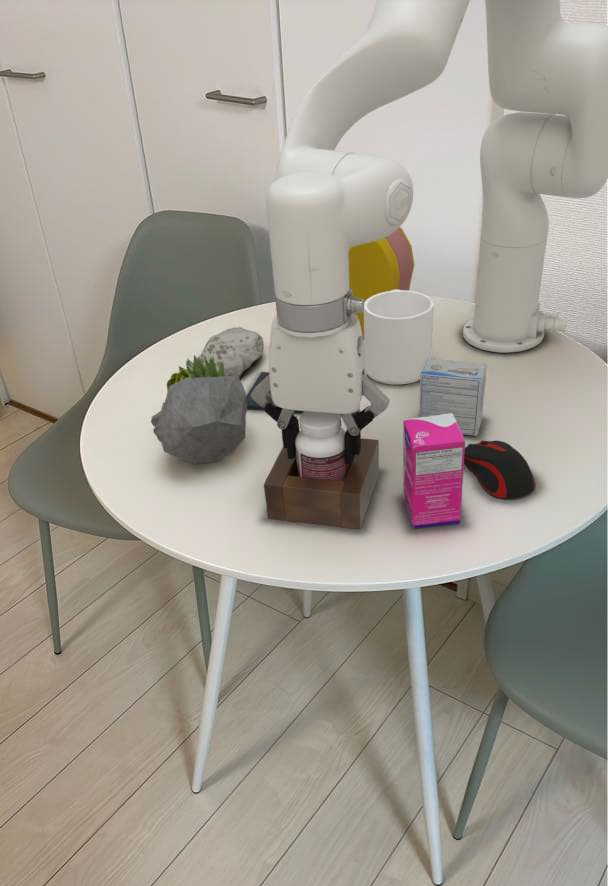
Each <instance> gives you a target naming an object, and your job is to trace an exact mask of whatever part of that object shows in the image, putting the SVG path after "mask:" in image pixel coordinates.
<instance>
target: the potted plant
mask: <svg viewBox="0 0 608 886" xmlns="http://www.w3.org/2000/svg"><path fill="white" fill-rule="evenodd" d="M185 361H186V362H185V366H186V368H184V367H182V366H179V365H178V368H179V369H178V372H174V373H172V374H171V375H170V378H169V379H168V380H167V381H166V397H165V399H164V401H163V402H162V405H161V409H160V411H158V412H157V413H155V414H154V415H153V416H151V418H150V419H151V420H150V423H151V424H152V426H153V427H154V428H153V430H152V431H153V434H154V435H155V436H156V439H157V441H159V442H160V443H161V447H162V450H163V452H164V453H166V454H168V455H169V456H171V457H172V458H176V459H178V460H180V461H183V462H187V463H189V464H192V465H196V466H197V465H202V464H209V463H215V462H218V461H220V460H222V459H224V458H226V457H228V456H230V455H233V453H234V451H236V449H237V448H238V447H239V446H240V445H241V444H242V442H243V441H244V440H245V438H246V426H247V425H246V421H247V412H248V409H247V393H246V390H245V387H244V385H243V383H242V381H241V379H240V378H239V377H238V375H231V376H230V375H229V376H225V375H224V367H223V363H222V362H220V367H219V371H218V374H217V369H216V364H215V363H214V358H213V356H212V358H211V357H210V361H209V363H208V361H207V359H206V357H205V355H204V363H203V362H202V361H201V360H200V358H199V356H196V355H195V354H194V355H193V362H192V361H191V360H190V359H189V357H188V358H187V359H186V360H185Z"/></svg>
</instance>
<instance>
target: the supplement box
mask: <svg viewBox="0 0 608 886" xmlns="http://www.w3.org/2000/svg"><path fill="white" fill-rule="evenodd" d="M402 426H403V429H402V432H403V433H402V435H403V436H402V438H403V439H402V441H403V444H402V445H403V446H402V451H403V452H402V463H403V464H402V472H403V473H402V497H403V498H402V499H403V501H404V504H405V507H406V510H407V513H408V517H409V520H410V524H411V528H412V529H422V528H430V527H437V526H438V527H439V526H447V525H448V526H449V525H460V524H461V517H462V501H463V484H464V470H465V463H464V453H465V447H466V439H465V437H464V435H463V434H462V433H461V430H460V428H459V426H458V424H457V422H456V419H455V417H454V415H453V413H449V414H442V415H435V416H428V417H420V418H419V417H411V418H404V419H403V423H402Z"/></svg>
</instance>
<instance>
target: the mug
mask: <svg viewBox="0 0 608 886" xmlns="http://www.w3.org/2000/svg"><path fill="white" fill-rule="evenodd" d="M434 305H435V303H434V300H433V298H431V297H430V296H429V295H427V294H424V293H422V292H418V291H415V290H409V291H406V290H397V289H395V290H391V291H387V292H383V293H379V294H376V295H373V296H372V297H370V298H368V299H367V300H366V301H365V303H364V338H363V342H364V350H365V359H366V369H367V377H369V378H370V379H372V380H373V381H375V382H378V383H381V384H386V385H395V386H397V385H398V386H400V385H410V384H412V383H417V382H419V381H420V374H421V372H422V370H423V368H424V366H425V364H426V362H427V359H432V353H433V350H432V347H433V346H432V345H433V330H434V328H433V325H434V307H435V306H434Z"/></svg>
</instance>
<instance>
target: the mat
mask: <svg viewBox="0 0 608 886" xmlns="http://www.w3.org/2000/svg"><path fill="white" fill-rule="evenodd" d="M268 375H269V371H268V372H267V371H261V372H260V374H259V375H258V376H257V379H256V380H255V382H254V383H253V385H252V387H251V388H250V389H249V391H248V393H246V396H247V410H257V411H265V410H264V408H263V407H261V406H260V405H259V404H258V403H257V402H256V401H254V400H253V399H252V397H251V393H252V392H253V390H254V388H255V387H256V386H257V385H258V384H259V383H260V382H261V381H263V380H264V379H265V378H266V377H267V376H268ZM268 393H269V394H270V395H271V390H270V391H269V392H268ZM303 412H304V411H298V410H295V411H294V414H302V413H303Z"/></svg>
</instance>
